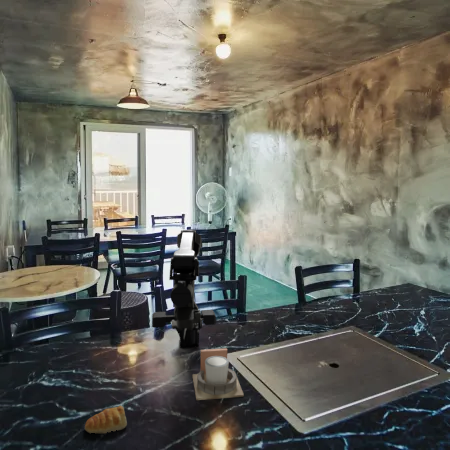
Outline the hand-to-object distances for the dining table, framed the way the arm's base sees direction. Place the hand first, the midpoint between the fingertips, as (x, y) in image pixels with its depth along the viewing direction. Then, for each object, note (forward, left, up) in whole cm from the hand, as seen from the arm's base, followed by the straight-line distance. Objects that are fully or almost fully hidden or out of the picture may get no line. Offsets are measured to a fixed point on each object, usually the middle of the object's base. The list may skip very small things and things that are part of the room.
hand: (183, 345), depth 115 cm
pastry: (-19, -22, -10) cm, 31 cm away
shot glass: (+9, -8, -9) cm, 15 cm away
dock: (+9, -8, -9) cm, 15 cm away
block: (+9, -2, -9) cm, 13 cm away
